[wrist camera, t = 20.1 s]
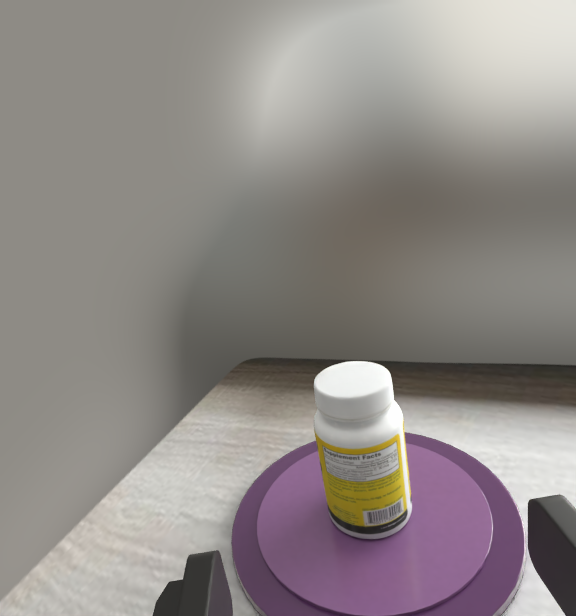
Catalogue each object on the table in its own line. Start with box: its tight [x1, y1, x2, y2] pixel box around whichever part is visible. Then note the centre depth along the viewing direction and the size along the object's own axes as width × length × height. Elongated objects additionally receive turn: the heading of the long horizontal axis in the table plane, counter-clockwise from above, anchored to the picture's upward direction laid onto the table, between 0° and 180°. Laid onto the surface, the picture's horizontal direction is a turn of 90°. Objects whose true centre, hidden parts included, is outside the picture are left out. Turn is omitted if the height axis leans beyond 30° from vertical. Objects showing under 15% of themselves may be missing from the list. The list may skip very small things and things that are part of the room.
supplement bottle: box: [314, 361, 412, 539], centre depth 25 cm, size 5×5×8 cm
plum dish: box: [231, 432, 526, 616], centre depth 26 cm, size 16×16×1 cm
